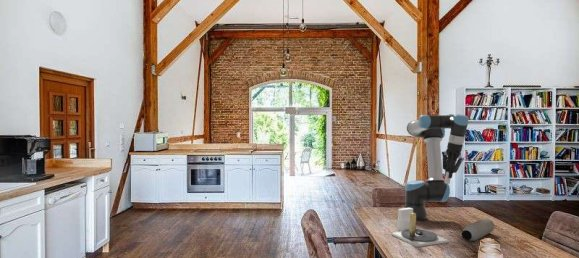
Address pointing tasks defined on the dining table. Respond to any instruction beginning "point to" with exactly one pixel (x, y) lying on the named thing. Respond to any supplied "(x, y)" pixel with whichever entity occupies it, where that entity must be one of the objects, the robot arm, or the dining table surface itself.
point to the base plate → (419, 243)
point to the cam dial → (418, 231)
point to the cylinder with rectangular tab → (404, 218)
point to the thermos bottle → (478, 229)
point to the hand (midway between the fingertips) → (446, 182)
